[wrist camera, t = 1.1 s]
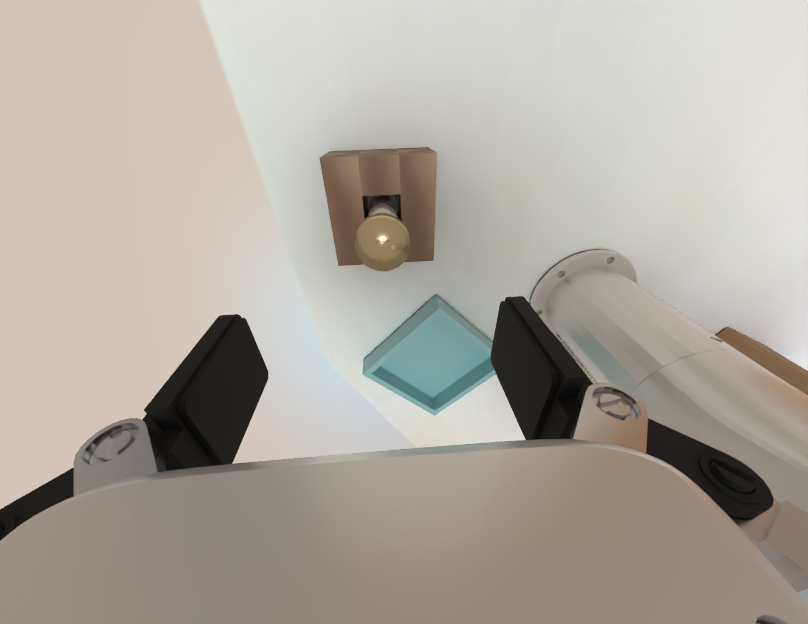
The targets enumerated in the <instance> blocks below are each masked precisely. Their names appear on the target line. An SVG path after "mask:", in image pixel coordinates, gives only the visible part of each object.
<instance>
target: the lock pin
mask: <svg viewBox="0 0 808 624" xmlns="http://www.w3.org/2000/svg"><path fill="white" fill-rule="evenodd" d="M355 249H356V253H357V255H358V257H359V259H360V260H361V261H362V262H363V263H364V264H365V265H366V266H368V267H369V268H371V269H374V270H378V271H388V270H392V269H395V268H397V267H398V266H400V265H401V264H402V263H403V262H404V261H405V260H406V258H407V256H408V254H409V251H410V239H409V235H408V231H407V228H406V226H405V225H404V223H403V222H402V221H401V220H400V219H399V218H397V212H396V205H395V198H394V195H377V196H371V201H370V208H369V215H368V217H367V218H366V219H364V221H363V222H362V223H361V224H360V226H359V228H358V230H357V234H356V239H355Z"/></svg>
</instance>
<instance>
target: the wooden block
mask: <svg viewBox="0 0 808 624" xmlns="http://www.w3.org/2000/svg"><path fill="white" fill-rule="evenodd" d="M716 337H718V338H720V339H721V340H723V341H724V342H726V343H727V344H729V345H730V346H732V347H733V348H735V349H736V350H738V351H739V352H741V353H742V354H744V355H745V356H747V357H748V358H750V359H751V360H753V361H754V362H756V363H757V364H759V365H760V366H762V367H764V368H765V369H767V370H768V371H770V372H771V373H773V374H774V375H776V376H777V377H779V378H781V379H782V380H784V381H785V382H787V383H789V384H790V385H792V386H793V387H795V388H797V389H798V390H800V391H801V392H803V393H805V394H806V395H808V371H807V370H805V369H803V368H802V367H800V366H798V365H797V364H795V363H793V362H792V361H790V360H788V359H787V358H785V357H783V356H782V355H780V354H778V353H777V352H775V351H773V350H772V349H770V348H768V347H767V346H765V345H763V344H761V343H759V342H757V341H755V340H753V339H751V338H749V337H747V336H745V335H743V334H741V333H739V332H737V331H735V330H733V329H731V328H726V329H724V330H723V331H721V332H720V333H719V334H717V335H716Z"/></svg>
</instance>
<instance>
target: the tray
mask: <svg viewBox="0 0 808 624" xmlns="http://www.w3.org/2000/svg"><path fill="white" fill-rule="evenodd" d="M492 345H493V342H492V341H491V340H490V339H489V338H488V337H486V336H485V335H484V334H483V333H481V332H480V331H479V330H478V329H477V328H475V327H474V326H473V325H472V324H471V323H469V322H468V321H467V320H466V319H465V318H463V317H462V316H461V315H460V314H459V313H457V312H456V311H455V310H454V309H453V308H451V307H450V306H449V305H448V304H447V303H445V302H444V301H443V300H442V299H441V298H439V297H438V296H437V295H436V294H435V295H434V296H433V297H432V298H431V299H430V300H429V301H428V302H427V303H425V304H424V305H423V306H422V307H421V308H420V309H419V310H418V311H417V312H415V313H414V314H413V315H412V316H411V317H410V318H409V319H408V320H406V321H405V322H404V323H403V324H402V325H401V326H400V327H399V328H398V329H396V330H395V331H394V332H393V333H392V334H391V335H390V336H389V337H388V338H386V339H385V340H384V341H383V342H382V343H381V344H380V345H379V346H378V347H376V348H375V349H374V350H373V351H372V352H371V353H370V354H369V355H367V356H366V357H365V358H364V364H363V375H365V376H366V377H368V378H370V379H372V380H373V381H375V382H377V383H379V384H380V385H382V386H384V387H386V388H387V389H389V390H391V391H393V392H394V393H396V394H398V395H400V396H401V397H403V398H405V399H407V400H409V401H410V402H412V403H414V404H416V405H417V406H419V407H421V408H423V409H424V410H426V411H428V412H430V413H431V414H433V415H436V414H438V413H439V412H440V411H442V410H443V409H445V408H446V407H448V406H449V405H451V404H452V403H454V402H455V401H457V400H458V399H460V398H461V397H463V396H464V395H465V394H467V393H468V392H470V391H471V390H473V389H474V388H476V387H477V386H479V385H480V384H482V383H483V382H485V381H486V380H488V379H489V378H490V377H492V376H493V375H495V374H496V372H495V370H494V368H493V366H492V363H491V350H492Z"/></svg>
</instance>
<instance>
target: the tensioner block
mask: <svg viewBox="0 0 808 624" xmlns="http://www.w3.org/2000/svg"><path fill="white" fill-rule="evenodd" d="M320 162H321V168H322V174H323V179H324V185H325V191H326V197H327V202H328V208H329V214H330V219H331V225H332V231H333V237H334V242H335V248H336V254H337V259H338V265H339V266H343V265H361V264H364V263H363V262H362V261H361V260H360V259H359V257H358V255H357V253H356V249H355V239H356V234H357V230H358V228H359V226H360V224H361V223H362V222H363V221H364V219H366V218H367V217H368V208H367V198H366V196H377V195H397V194H399V216H397V218H399V219H400V220H401V221H402V222H403V223H404V225H405V226H406V228H407V231H408V235H409V239H410V251H409V254H408V256H407V258H406V260H405V261H404V262H415V261H433V260H434V225H435V189H436V152H434V151H433V150H431V149H430V148H428V147H425V148H402V149H378V150H355V151H332V152H328V153H327V154H325V155H324V156H322V157H321V158H320Z"/></svg>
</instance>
